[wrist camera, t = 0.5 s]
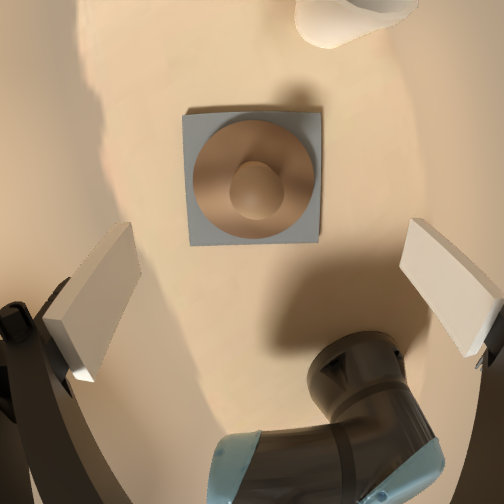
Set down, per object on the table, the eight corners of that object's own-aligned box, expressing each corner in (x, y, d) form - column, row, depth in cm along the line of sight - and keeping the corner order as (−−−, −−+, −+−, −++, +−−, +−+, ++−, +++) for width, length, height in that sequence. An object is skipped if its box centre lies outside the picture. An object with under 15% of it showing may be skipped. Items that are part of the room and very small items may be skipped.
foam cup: (273, -6, 23) (288, -72, 10) (350, -6, 22) (395, -59, 10) (291, 64, 26) (321, 17, 14) (370, 61, 25) (433, 28, 13)
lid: (309, 234, 32) (331, 266, 23) (198, 237, 31) (183, 270, 23) (311, 121, 27) (337, 114, 19) (192, 123, 27) (171, 116, 19)
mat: (316, 239, 33) (318, 242, 32) (191, 243, 33) (190, 246, 32) (318, 113, 28) (320, 113, 27) (184, 116, 28) (182, 115, 27)
